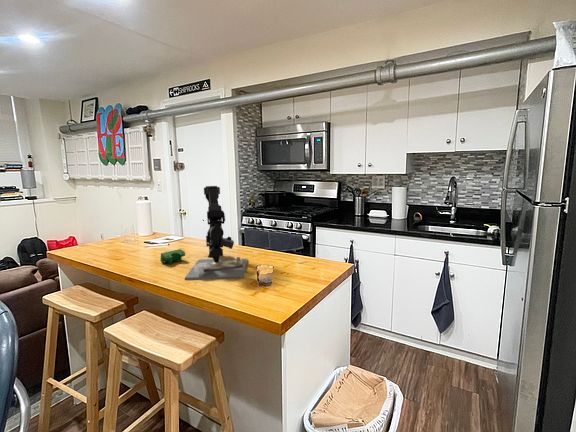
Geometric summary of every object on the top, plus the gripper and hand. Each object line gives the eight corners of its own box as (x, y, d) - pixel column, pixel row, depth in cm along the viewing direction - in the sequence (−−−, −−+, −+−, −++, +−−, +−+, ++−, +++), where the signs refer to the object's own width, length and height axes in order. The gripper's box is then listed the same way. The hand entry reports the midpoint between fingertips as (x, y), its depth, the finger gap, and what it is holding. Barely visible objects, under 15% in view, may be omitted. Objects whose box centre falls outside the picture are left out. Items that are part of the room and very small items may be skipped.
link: (241, 263, 160) (241, 255, 159) (243, 265, 156) (243, 257, 155) (201, 268, 152) (200, 260, 152) (202, 271, 149) (201, 262, 148)
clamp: (169, 272, 164) (163, 259, 159) (163, 267, 168) (157, 255, 163) (188, 259, 171) (183, 247, 166) (182, 255, 175) (177, 242, 169)
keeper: (208, 271, 151) (208, 261, 150) (214, 275, 146) (214, 264, 145) (193, 275, 147) (192, 264, 146) (199, 279, 141) (198, 268, 140)
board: (198, 261, 168) (198, 259, 168) (247, 260, 170) (247, 258, 170) (184, 279, 141) (184, 277, 141) (243, 278, 142) (242, 276, 142)
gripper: (233, 238, 146) (234, 270, 148) (232, 229, 164) (233, 258, 166) (208, 239, 143) (210, 271, 146) (210, 230, 161) (211, 259, 164)
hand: (217, 264), depth 156 cm, fingers closed
